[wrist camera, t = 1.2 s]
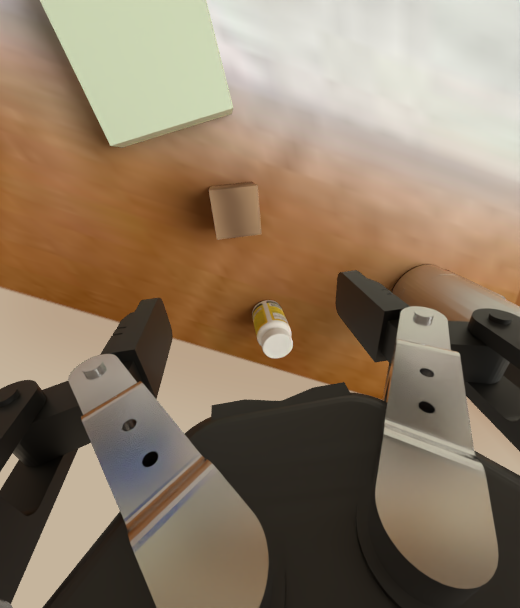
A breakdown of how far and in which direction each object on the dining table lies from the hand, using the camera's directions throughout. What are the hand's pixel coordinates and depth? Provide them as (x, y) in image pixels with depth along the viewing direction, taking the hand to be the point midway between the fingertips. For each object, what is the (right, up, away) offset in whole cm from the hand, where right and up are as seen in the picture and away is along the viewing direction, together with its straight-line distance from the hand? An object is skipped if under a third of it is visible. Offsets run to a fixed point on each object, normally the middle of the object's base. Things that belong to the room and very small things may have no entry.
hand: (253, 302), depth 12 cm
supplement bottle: (+1, -1, +28) cm, 28 cm away
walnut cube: (-3, +12, +20) cm, 23 cm away
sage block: (-10, +23, +12) cm, 28 cm away
